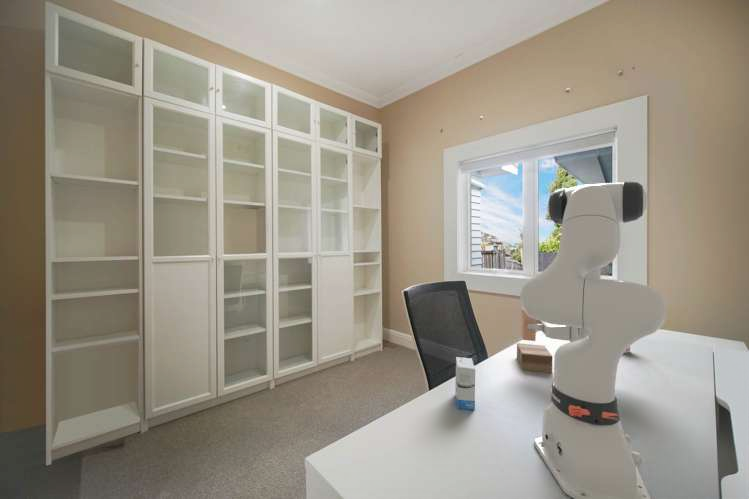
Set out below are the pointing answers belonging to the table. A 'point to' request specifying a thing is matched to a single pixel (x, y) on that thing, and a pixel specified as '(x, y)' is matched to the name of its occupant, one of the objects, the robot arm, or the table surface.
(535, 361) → the block
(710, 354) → the table surface
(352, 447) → the table surface
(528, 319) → the terracotta block
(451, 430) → the table surface
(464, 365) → the ink box
